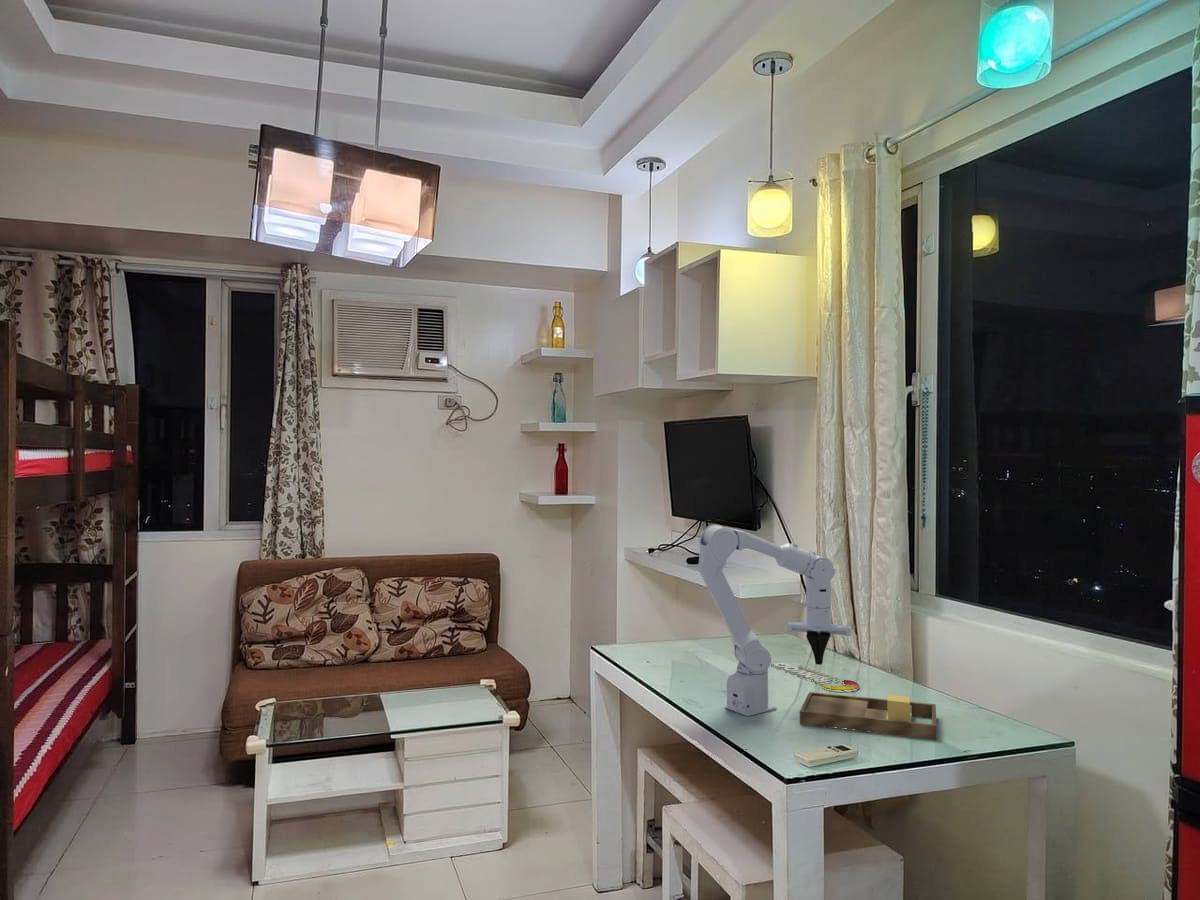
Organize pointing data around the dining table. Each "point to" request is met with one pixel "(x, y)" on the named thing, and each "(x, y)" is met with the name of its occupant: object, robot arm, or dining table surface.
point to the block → (898, 707)
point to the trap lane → (865, 715)
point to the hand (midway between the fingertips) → (819, 663)
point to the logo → (816, 676)
